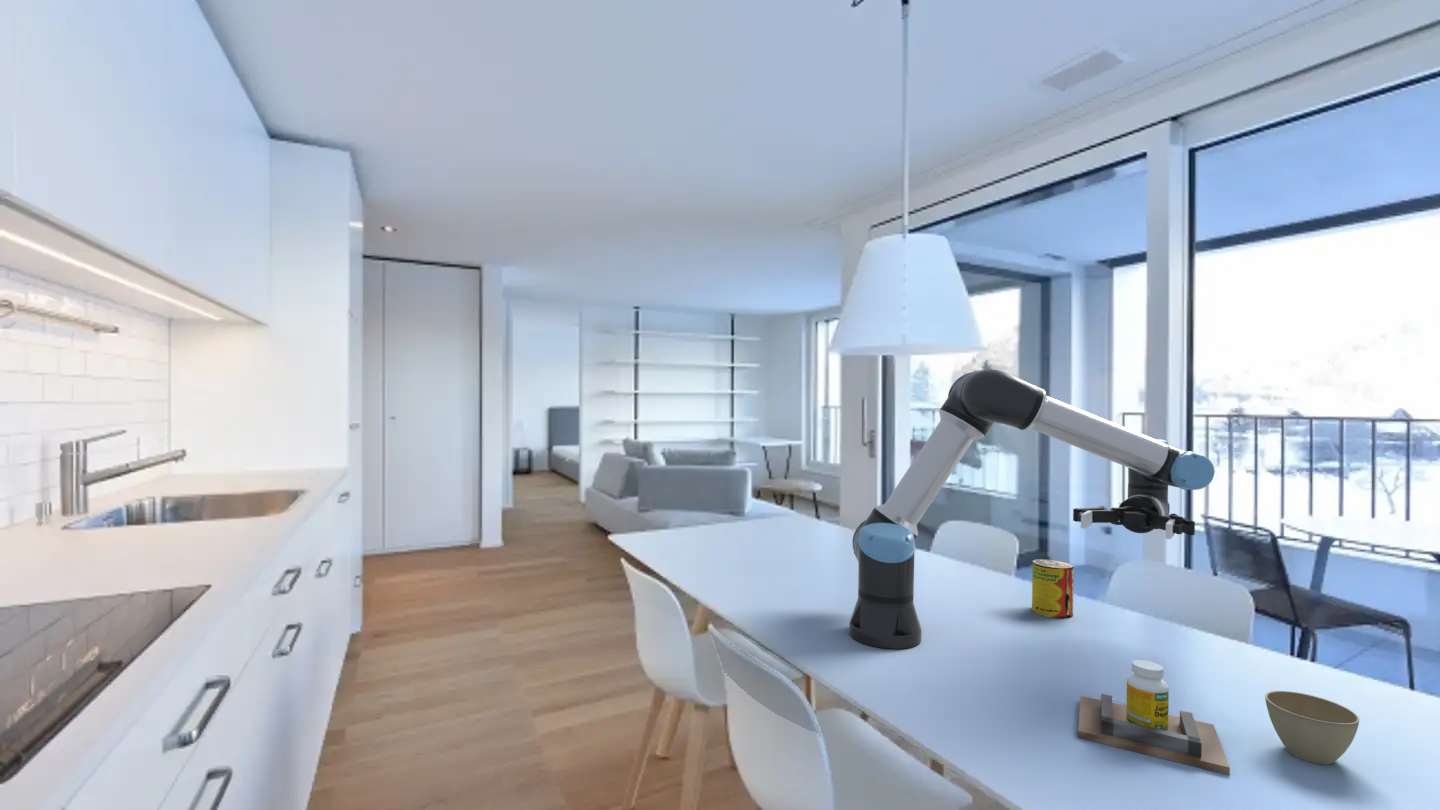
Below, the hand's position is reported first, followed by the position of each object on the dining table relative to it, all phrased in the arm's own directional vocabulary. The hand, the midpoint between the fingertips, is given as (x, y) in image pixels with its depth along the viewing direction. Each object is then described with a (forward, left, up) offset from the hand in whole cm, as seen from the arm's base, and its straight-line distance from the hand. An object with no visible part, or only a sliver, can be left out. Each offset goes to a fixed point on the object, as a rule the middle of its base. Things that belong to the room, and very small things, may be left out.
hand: (1124, 526), depth 119 cm
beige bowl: (+23, -18, -28) cm, 40 cm away
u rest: (+3, -24, -28) cm, 37 cm away
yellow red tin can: (-13, +35, -28) cm, 47 cm away
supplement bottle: (+3, -24, -27) cm, 36 cm away
